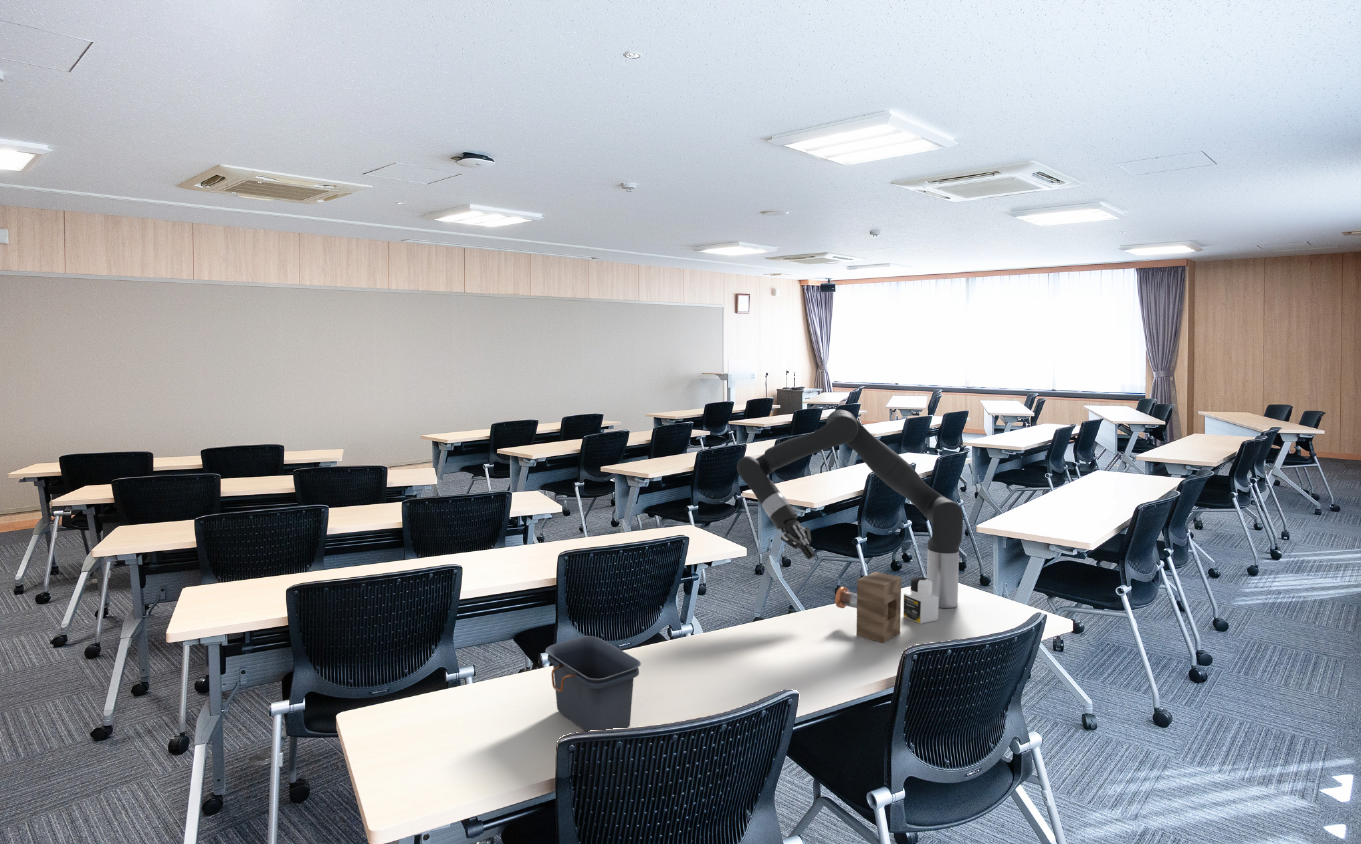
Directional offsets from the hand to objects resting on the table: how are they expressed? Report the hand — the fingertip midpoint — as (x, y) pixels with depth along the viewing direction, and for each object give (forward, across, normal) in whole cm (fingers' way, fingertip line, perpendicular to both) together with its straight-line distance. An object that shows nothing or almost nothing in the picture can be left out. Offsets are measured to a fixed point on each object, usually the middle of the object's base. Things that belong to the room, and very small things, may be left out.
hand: (812, 557), depth 222 cm
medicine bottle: (+30, +20, -5) cm, 37 cm away
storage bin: (+15, -87, +12) cm, 89 cm away
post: (+28, 0, -3) cm, 28 cm away
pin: (+21, 0, -3) cm, 21 cm away
